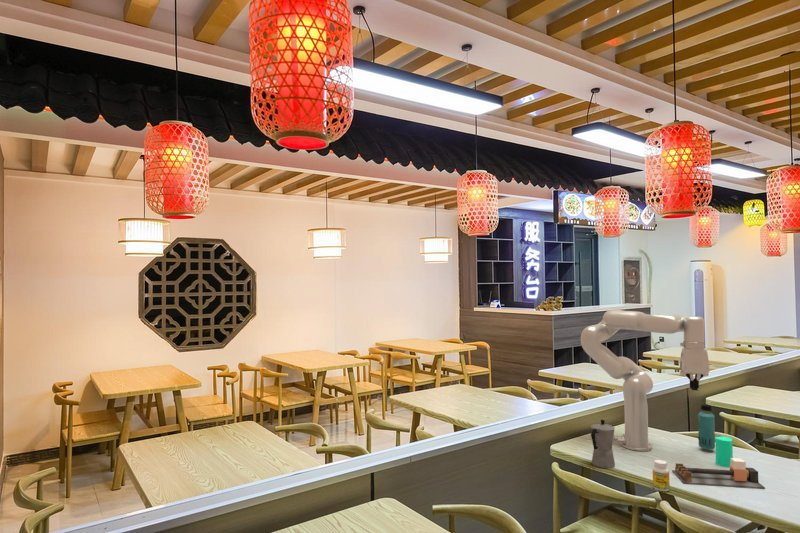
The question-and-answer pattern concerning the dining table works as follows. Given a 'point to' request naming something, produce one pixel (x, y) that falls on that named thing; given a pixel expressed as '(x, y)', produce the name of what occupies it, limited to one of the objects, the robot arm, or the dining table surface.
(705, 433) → the beverage bottle
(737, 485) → the linear slide rail
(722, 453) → the candle
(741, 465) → the orange block
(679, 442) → the dining table surface
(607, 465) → the coffeepot
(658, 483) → the supplement bottle
